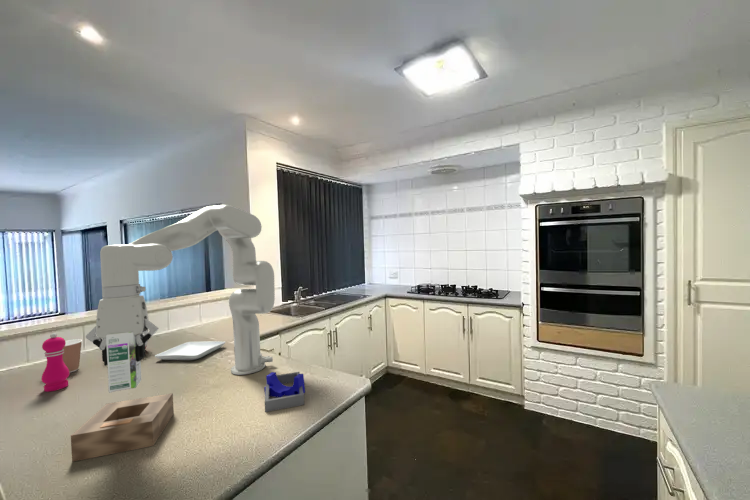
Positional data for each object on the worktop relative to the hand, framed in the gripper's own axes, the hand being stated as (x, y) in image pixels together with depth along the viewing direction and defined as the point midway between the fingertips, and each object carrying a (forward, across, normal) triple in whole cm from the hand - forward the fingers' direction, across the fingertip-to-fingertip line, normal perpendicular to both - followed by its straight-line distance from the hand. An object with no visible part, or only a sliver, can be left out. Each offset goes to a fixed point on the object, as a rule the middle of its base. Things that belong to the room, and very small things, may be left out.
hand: (124, 361), depth 82 cm
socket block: (+19, 0, 0) cm, 19 cm away
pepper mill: (+19, +40, -47) cm, 65 cm away
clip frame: (+19, -39, -8) cm, 44 cm away
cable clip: (+19, -39, -8) cm, 45 cm away
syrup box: (+7, 0, 0) cm, 7 cm away
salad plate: (+20, +1, -69) cm, 72 cm away
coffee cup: (+19, +47, -67) cm, 84 cm away
